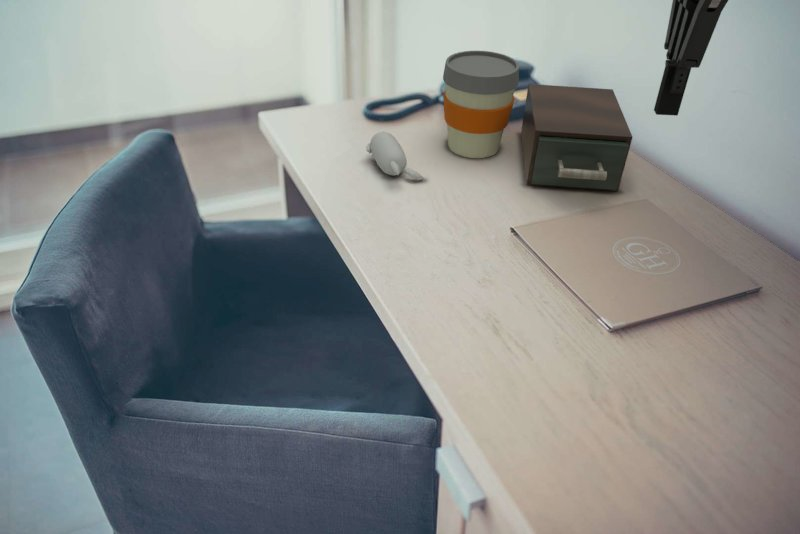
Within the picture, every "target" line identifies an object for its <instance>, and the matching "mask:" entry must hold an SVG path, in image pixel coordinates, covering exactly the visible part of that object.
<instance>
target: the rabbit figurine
mask: <svg viewBox="0 0 800 534" xmlns="http://www.w3.org/2000/svg"><path fill="white" fill-rule="evenodd" d="M369 141H370V142H369V143H368V144H366V152H367V153H368V154H372V155H371V159H372V160H374V161H375V162H376V165H377V166H378V167H379V168H380V169H381V171H382V172H383V173H385V175H388V176H393V177H395V176H399V175H400V174H401V173H402V172H403V171H404V173H405V174H406V175H407V176H408V177H410V178H411V179H414V180H417V181H421V180H423V179H424V176H422V174H420V173H419V172H418V171H416V170H415V169H413V168H411V167H407V165H408V164H407V156H406V153H405V152H404V149H403V148H402V146H401V144H400V143H399V140H398V139H397V138H396V137H395V136H394V135H393V134H392V133H391V132H388V131H385V130H383V131H378V132H377V133H375V134H374V135H373V136H372V137H371V139H370V140H369Z"/></svg>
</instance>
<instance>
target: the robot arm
mask: <svg viewBox="0 0 800 534" xmlns="http://www.w3.org/2000/svg"><path fill="white" fill-rule="evenodd" d="M728 2H729V0H672V3H671V8H670V13H669V19H668V24H667V30H666V35H665V41H664V45H663V48H664V50H666V51H667V52H666V54H665V55H666V59H665V62H664V63H665V65H664V69H663V74H662V78H661V81H660V84H659V89H658V93H657V96H656V101H655V103H654V108H653V111H654V113H655V115H657V116H658V115H659V116H678V115H679V112H680V109H681V105H682V101H683V99H684V95H685V91H686V87H687V84H688V81H689V77H690V74H691V70H692V69H696V68H700V67H701V64H702V61H703V59H704V57H705V54H706V51H707V49H708V46H709V44H710V42H711V39H712V37H713V34H714V33H715V29H716V28H717V25H718V21H719V19H720V17H721V14H722V12H723V10H724V8H725V7H726V5H727V3H728Z"/></svg>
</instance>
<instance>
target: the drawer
mask: <svg viewBox="0 0 800 534" xmlns="http://www.w3.org/2000/svg"><path fill="white" fill-rule="evenodd" d="M627 149H628V143H627V142H620V141H616V140H587V139H572V138H558V137H547V136H543V135H540V136H539V137H538V143H537V149H536V155H535V160H534V166H533V172H532V178H531V183H532V184H541V185H554V186H568V187H581V188H595V189H609V190H617V187H618V183H619V179H620V175H621V172H622V168H623V164H624V161H625V157H626V153H627Z"/></svg>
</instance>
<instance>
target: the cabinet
mask: <svg viewBox="0 0 800 534" xmlns="http://www.w3.org/2000/svg"><path fill="white" fill-rule="evenodd" d="M540 135H543V136H557V137H572V138H586V139H601V140H616V141H620V142H627V143H628V149H627V153H626V157H625V161H624V164H623V168H622V172H621V175H620V179H619V183H618V187H617V190H609V189H595V188H581V187H568V186H554V185H541V184H532V183H531V178H532V172H533V166H534V160H535V155H536V149H537V143H538V137H539V136H540ZM520 138H521V147H522V156H523V164H524V165H523V166H524V174H525V184H526V185H527V186H539V187H555V188H565V189H566V188H568V189H581V190H582V189H583V190H596V191H609V192H618V191H619V188H620V185H621V181H622V178H623V174H624V170H625V166H626V163H627V160H628V155H629V152H630V148H631V145H632V141H633V134H632V132H631V130H630V128H629V125H628V123H627V120H626V118H625V115H624V113H623V111H622V109H621V106H620V103H619V101H618V99H617V96H616V93H615V92H614V89H612V88H598V87H583V86H581V87H580V86H565V85H551V84H550V85H549V84H534V83H528V85H527V91H526V99H525V105H524V110H523V117H522V124H521V130H520Z"/></svg>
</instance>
